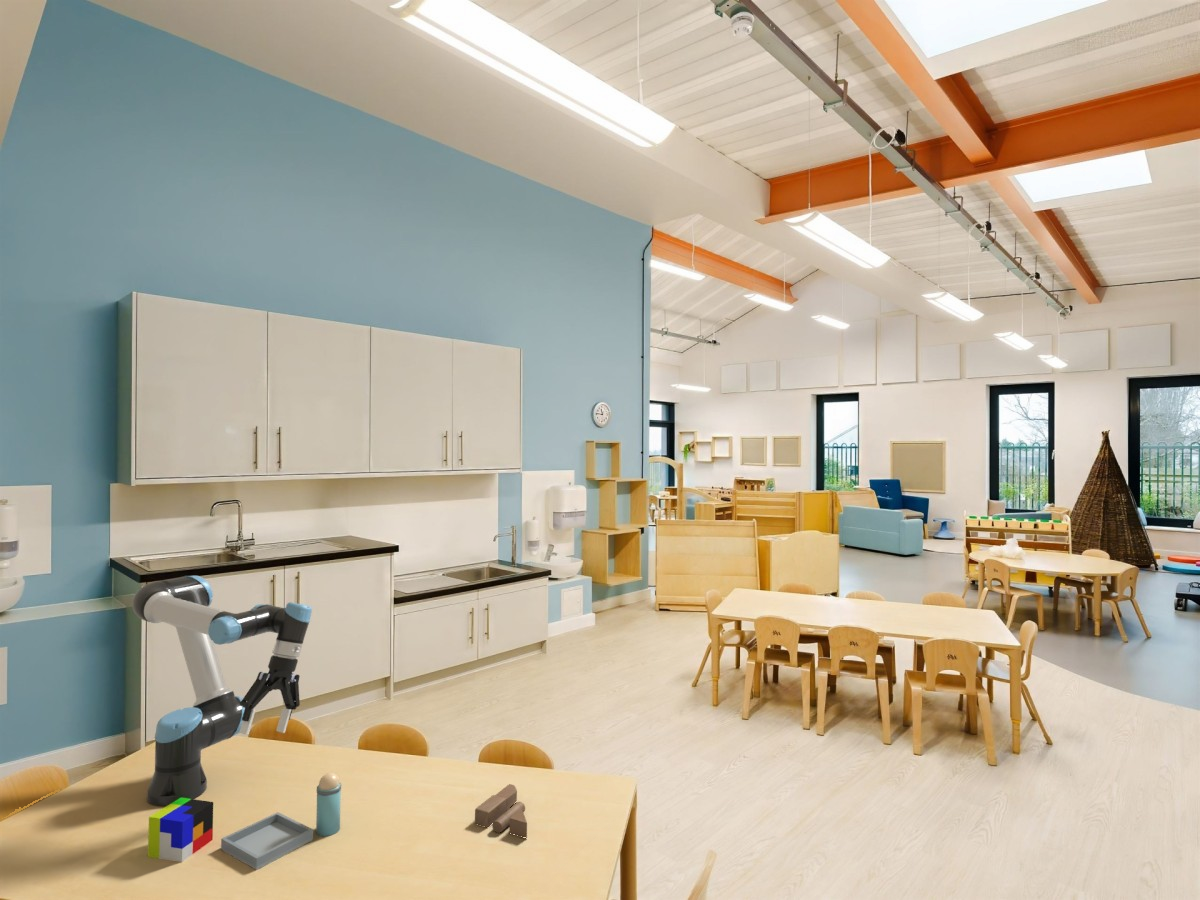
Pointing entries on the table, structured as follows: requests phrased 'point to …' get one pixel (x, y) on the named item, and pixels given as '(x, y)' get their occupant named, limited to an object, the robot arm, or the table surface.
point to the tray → (266, 840)
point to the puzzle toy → (180, 829)
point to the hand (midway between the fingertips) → (262, 732)
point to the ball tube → (328, 805)
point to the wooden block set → (503, 812)
